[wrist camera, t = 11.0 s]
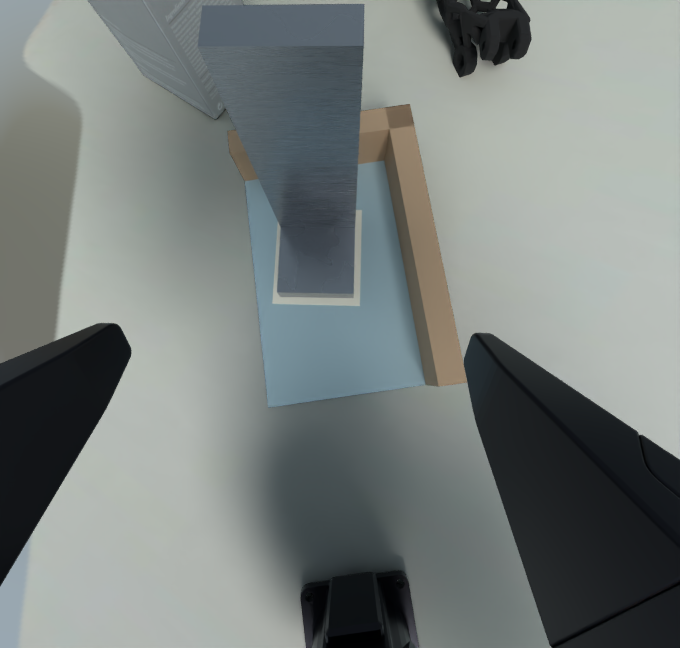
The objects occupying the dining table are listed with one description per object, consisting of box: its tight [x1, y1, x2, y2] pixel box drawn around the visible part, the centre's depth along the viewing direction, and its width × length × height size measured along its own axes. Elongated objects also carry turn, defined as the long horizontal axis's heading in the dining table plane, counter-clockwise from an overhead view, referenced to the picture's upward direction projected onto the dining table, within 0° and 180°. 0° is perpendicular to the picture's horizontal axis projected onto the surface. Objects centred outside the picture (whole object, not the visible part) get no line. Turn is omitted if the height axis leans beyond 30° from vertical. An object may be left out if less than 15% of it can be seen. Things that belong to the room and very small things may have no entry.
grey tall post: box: [198, 4, 364, 298], centre depth 16 cm, size 6×5×13 cm
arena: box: [228, 104, 467, 408], centre depth 21 cm, size 18×12×4 cm, turn 8°
